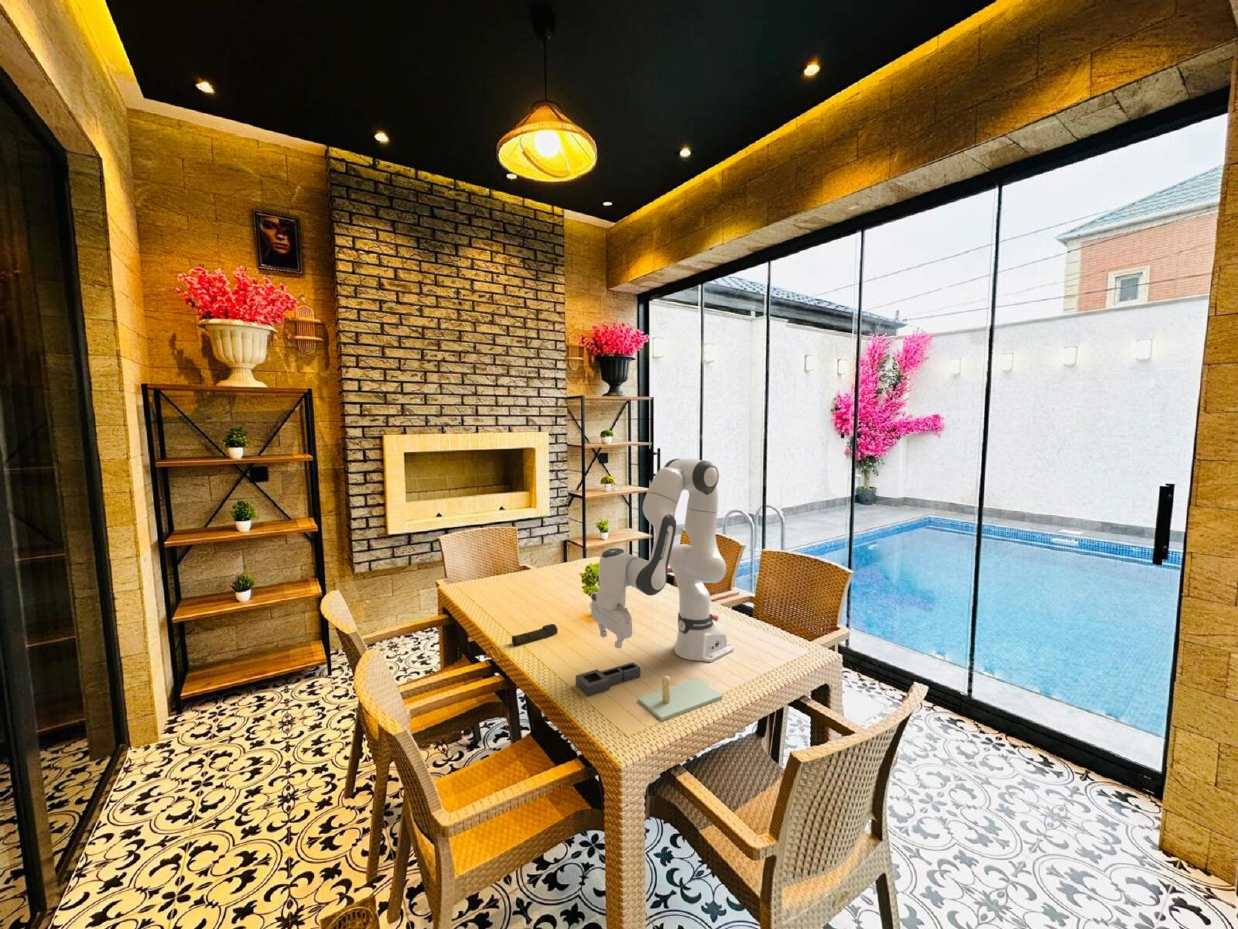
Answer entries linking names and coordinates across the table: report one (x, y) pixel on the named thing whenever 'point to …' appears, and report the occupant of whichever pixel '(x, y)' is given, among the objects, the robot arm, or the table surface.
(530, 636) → the hand tool
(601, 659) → the table surface
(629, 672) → the grey hollow frame
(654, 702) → the keeper board
